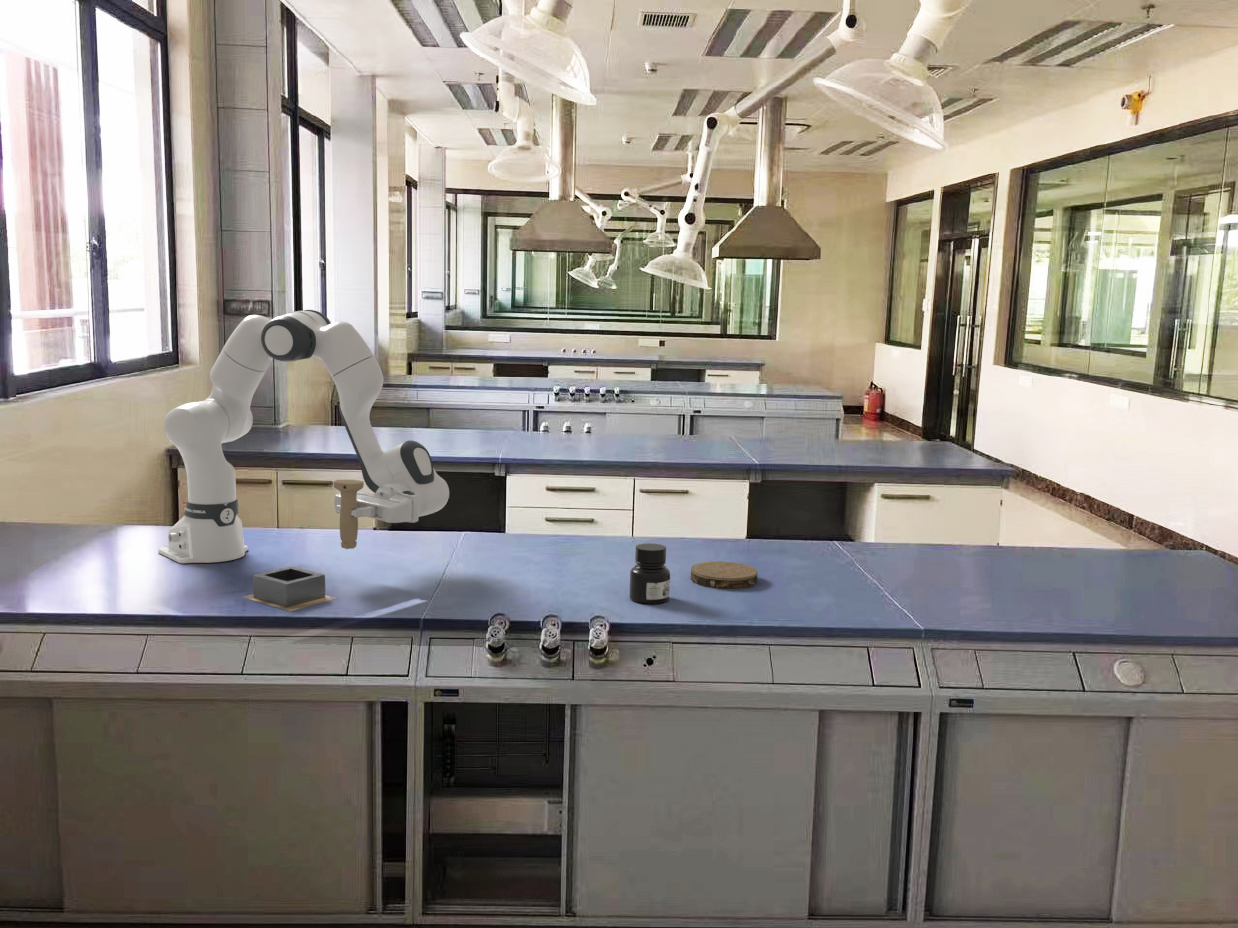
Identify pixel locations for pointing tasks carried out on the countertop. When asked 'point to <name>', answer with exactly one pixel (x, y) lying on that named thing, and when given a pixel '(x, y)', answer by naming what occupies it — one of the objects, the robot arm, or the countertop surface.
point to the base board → (292, 608)
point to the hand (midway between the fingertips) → (345, 511)
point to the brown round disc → (724, 575)
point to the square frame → (289, 586)
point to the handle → (348, 511)
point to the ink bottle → (650, 575)
